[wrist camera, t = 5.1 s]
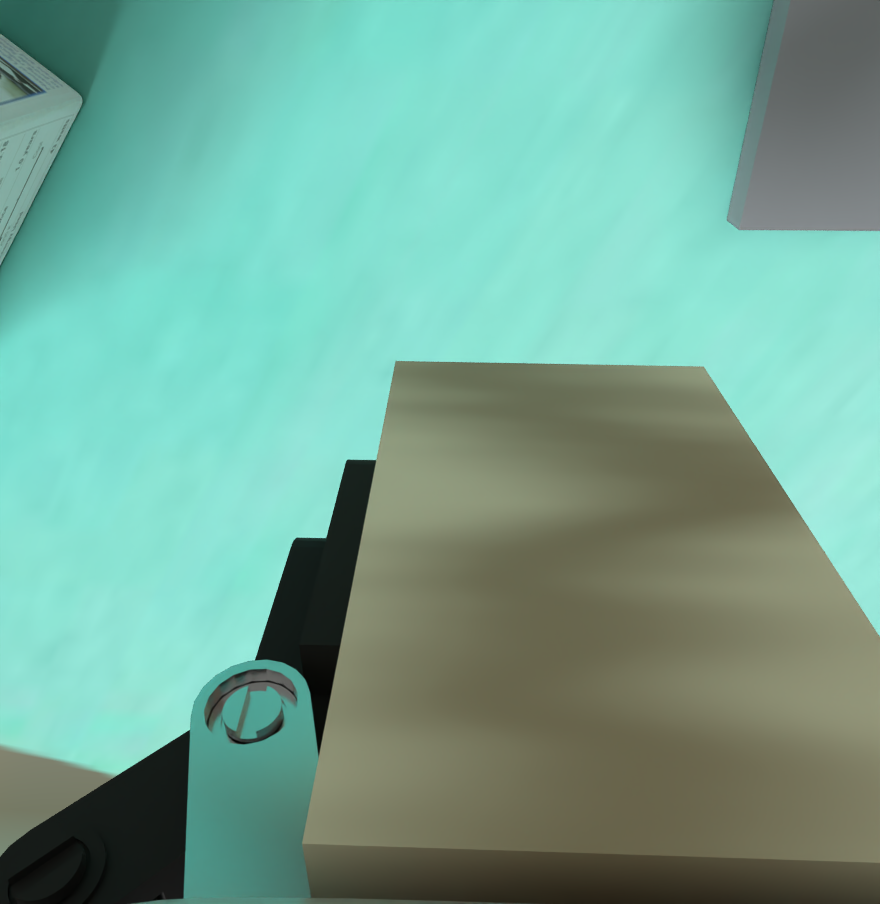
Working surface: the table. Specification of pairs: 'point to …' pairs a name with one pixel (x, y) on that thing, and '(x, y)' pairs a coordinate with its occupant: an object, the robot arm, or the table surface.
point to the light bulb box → (28, 132)
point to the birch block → (592, 658)
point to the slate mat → (814, 122)
